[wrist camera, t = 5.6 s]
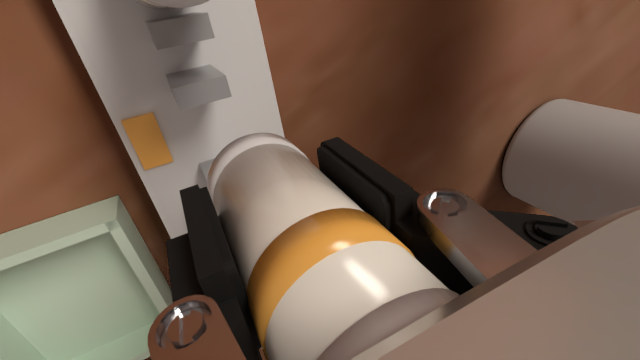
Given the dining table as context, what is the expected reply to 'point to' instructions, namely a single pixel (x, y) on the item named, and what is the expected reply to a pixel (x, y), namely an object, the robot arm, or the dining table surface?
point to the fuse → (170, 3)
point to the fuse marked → (313, 256)
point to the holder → (176, 86)
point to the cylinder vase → (575, 160)
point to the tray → (79, 287)
